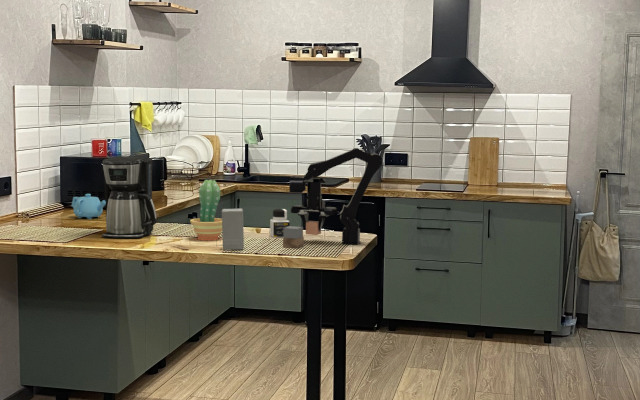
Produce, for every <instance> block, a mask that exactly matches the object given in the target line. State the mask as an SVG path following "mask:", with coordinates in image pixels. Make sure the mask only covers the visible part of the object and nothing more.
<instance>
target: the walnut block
mask: <svg viewBox="0 0 640 400" xmlns="http://www.w3.org/2000/svg"><path fill="white" fill-rule="evenodd" d="M304 243H305V237H304V236H303V237H301V238H299V239H292V238H282V248H286V249H300V247H301V248H302V247H304V245H305V244H304Z"/></svg>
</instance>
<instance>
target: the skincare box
mask: <svg viewBox="0 0 640 400" xmlns="http://www.w3.org/2000/svg"><path fill="white" fill-rule="evenodd" d="M221 219H222V232H221V233H222V238H221V239H222V250H223V251H224V250H225V251H227V250H229V251H231V250H232V251H233V250H244V247H245V234H244V233H245V232H244V209H243V208H222V210H221Z"/></svg>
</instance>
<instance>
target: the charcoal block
mask: <svg viewBox="0 0 640 400" xmlns="http://www.w3.org/2000/svg"><path fill="white" fill-rule="evenodd" d="M301 237H304V227H303V226H291V225H290V226H288V227H285V228H284V238H292V239H299V238H301Z"/></svg>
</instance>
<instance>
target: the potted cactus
mask: <svg viewBox="0 0 640 400" xmlns="http://www.w3.org/2000/svg"><path fill="white" fill-rule="evenodd" d="M198 200H199V203H200V204H199V205H200V210H199V212H200V213H199V217H198V218H192V219H190V225H191V226H192V227H193V230H194V233H195V234H196V235H197V240H198V239H199V240H198V241H207V240H208V241H217V240H219V236H220V235H221V233H222V218H218V217H217V218H216V213H217V208H218V205H219V202H220V200H221V187H220V186H219V185H218V183H217V181H216V179H214V180H212V179H209V180H208V179H205V180H204V181H203V182H202V184H201V185H200V186H199V188H198Z"/></svg>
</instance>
